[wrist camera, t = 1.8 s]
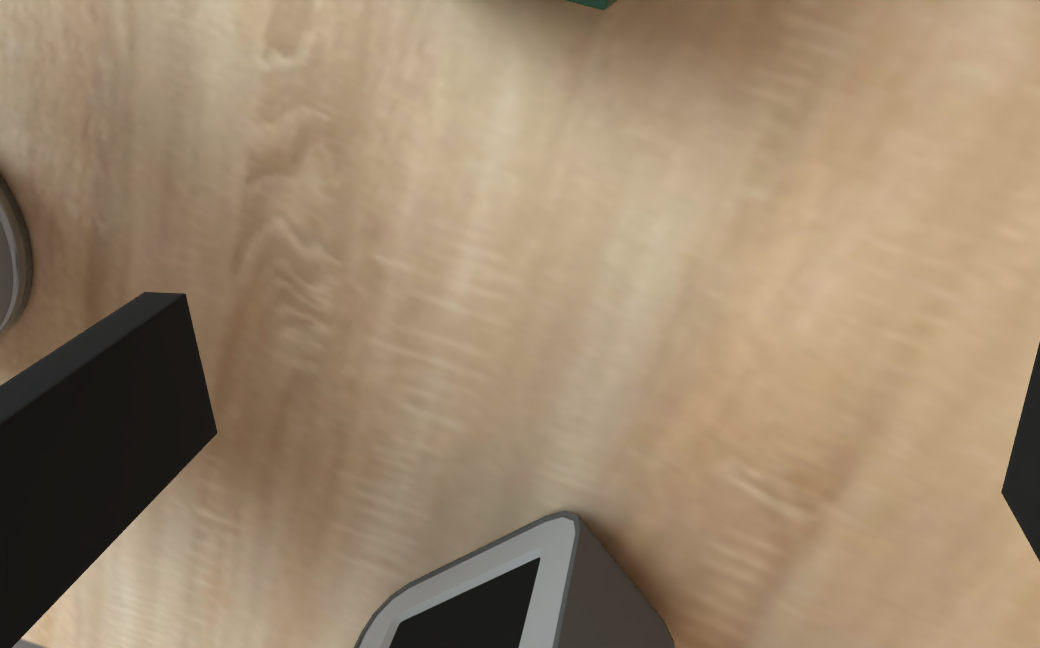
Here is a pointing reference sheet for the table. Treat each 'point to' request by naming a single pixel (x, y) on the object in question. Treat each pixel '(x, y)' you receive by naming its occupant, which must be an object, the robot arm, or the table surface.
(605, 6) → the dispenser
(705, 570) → the table surface
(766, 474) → the table surface
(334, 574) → the table surface
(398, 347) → the table surface
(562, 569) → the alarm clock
